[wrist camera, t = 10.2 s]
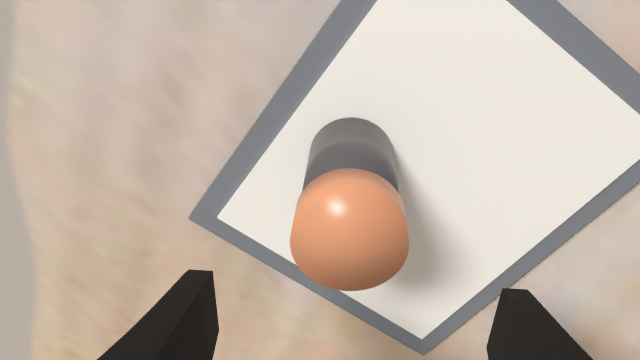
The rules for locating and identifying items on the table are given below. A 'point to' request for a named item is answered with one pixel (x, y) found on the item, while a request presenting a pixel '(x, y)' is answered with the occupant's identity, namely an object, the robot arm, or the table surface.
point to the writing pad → (445, 148)
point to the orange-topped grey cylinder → (350, 209)
